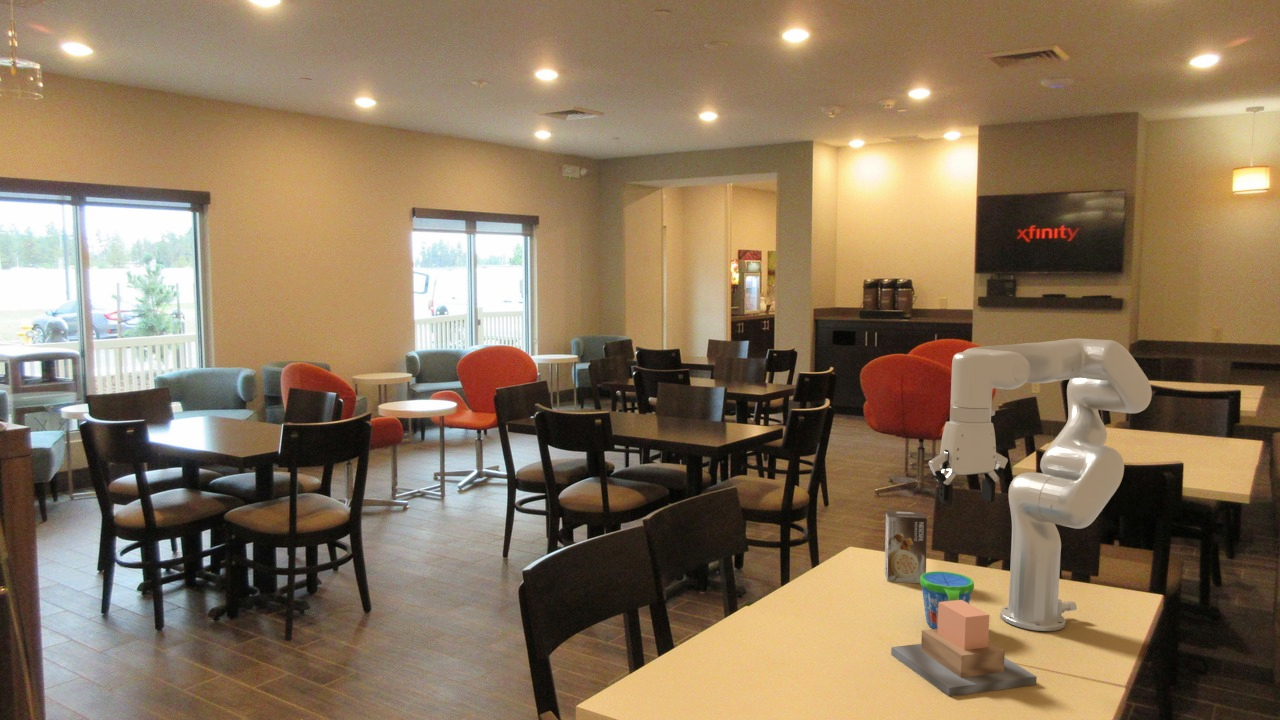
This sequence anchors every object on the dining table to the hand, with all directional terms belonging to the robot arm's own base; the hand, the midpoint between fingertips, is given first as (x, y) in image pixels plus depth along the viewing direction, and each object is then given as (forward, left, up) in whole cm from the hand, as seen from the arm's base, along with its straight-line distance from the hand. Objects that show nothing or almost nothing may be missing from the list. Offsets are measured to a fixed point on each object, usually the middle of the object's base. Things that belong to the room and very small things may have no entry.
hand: (966, 502), depth 174 cm
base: (+8, +11, -28) cm, 31 cm away
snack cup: (-2, -8, -28) cm, 30 cm away
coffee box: (-11, -37, -28) cm, 48 cm away
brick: (+8, +11, -23) cm, 27 cm away
